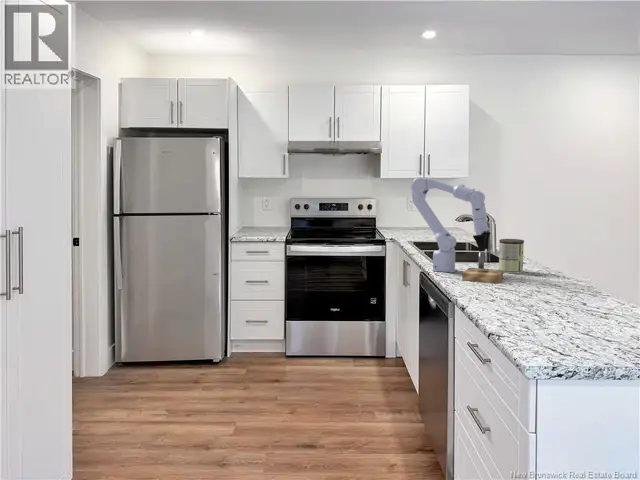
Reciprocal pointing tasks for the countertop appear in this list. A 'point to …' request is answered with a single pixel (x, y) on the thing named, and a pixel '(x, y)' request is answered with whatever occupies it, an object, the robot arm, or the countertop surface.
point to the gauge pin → (481, 260)
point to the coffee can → (511, 255)
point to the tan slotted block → (482, 275)
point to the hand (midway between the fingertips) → (483, 250)
